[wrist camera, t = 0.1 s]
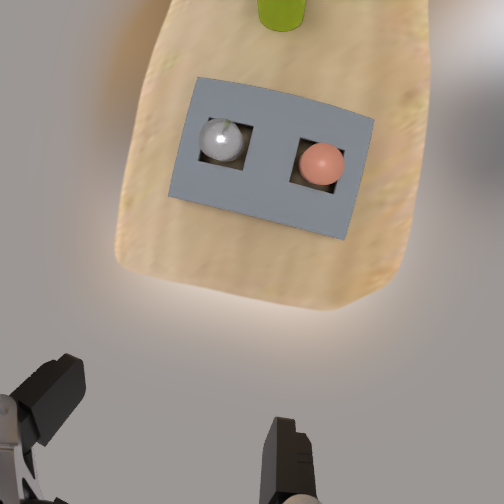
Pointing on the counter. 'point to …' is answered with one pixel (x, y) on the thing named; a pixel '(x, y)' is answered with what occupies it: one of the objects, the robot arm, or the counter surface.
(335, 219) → the plug board
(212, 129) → the steel plug
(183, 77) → the counter surface
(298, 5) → the soap dispenser
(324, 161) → the terracotta plug
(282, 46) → the counter surface
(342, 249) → the counter surface
